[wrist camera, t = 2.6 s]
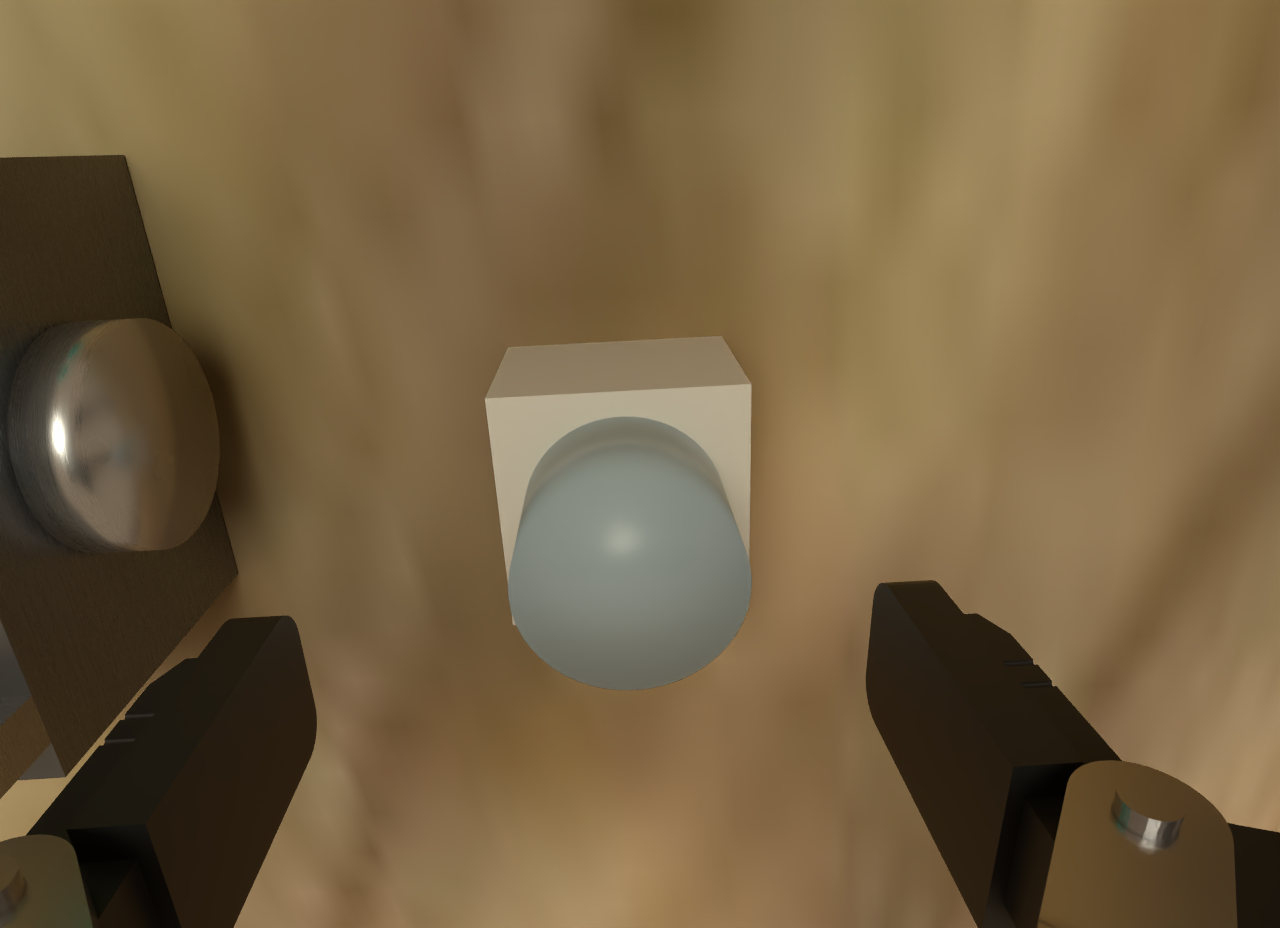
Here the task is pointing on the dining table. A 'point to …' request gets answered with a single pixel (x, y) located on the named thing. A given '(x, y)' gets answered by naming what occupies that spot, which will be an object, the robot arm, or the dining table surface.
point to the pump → (624, 504)
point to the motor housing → (93, 464)
